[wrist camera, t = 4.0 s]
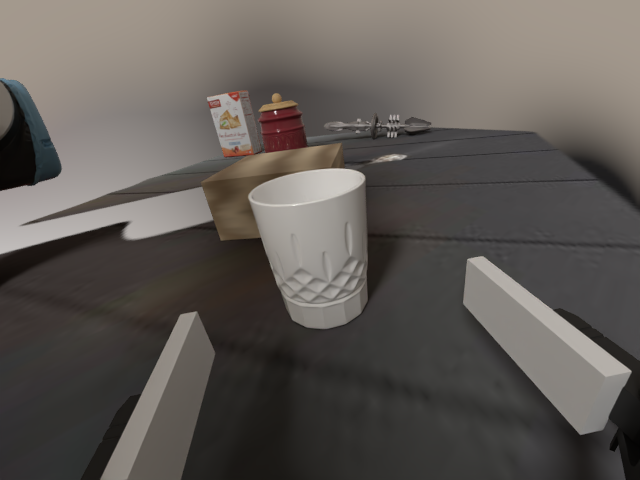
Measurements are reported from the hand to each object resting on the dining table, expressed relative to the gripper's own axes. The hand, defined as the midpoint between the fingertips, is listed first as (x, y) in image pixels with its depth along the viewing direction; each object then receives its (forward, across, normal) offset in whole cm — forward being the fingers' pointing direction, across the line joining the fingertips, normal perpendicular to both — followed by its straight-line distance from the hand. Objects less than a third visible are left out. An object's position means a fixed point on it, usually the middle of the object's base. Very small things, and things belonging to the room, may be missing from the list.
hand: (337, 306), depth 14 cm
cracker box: (+103, -20, -6) cm, 105 cm away
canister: (+78, -2, -6) cm, 78 cm away
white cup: (+8, 0, -6) cm, 10 cm away
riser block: (+30, -3, -6) cm, 31 cm away
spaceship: (+86, +27, -6) cm, 91 cm away
